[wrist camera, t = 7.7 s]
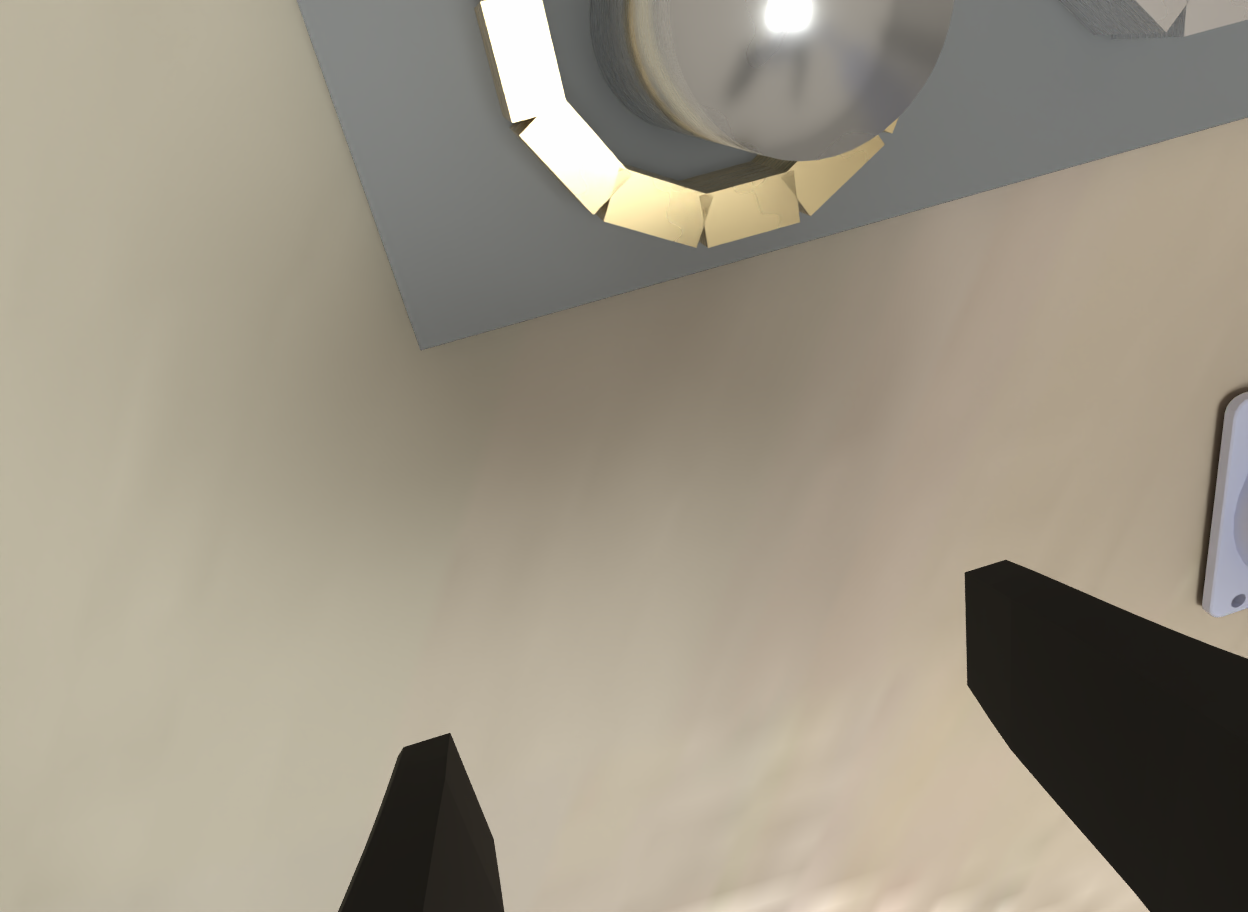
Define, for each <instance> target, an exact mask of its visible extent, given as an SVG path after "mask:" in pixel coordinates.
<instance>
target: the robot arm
mask: <svg viewBox="0 0 1248 912" xmlns="http://www.w3.org/2000/svg"><path fill="white" fill-rule="evenodd" d="M965 603H966V645H967V685H968V687H969V688H970V690H971V691H972V693H973V694H974V696H975V697H976V699H977V700H978V702H979V703H980V705H981V707H982V708H983V710H984V711H985V713H986V714H987V716H988V717H989V719H990V720H991V722H992V723H993V725H994V726H995V728H996V729H997V730H998V732H999V733H1000V735H1001V736H1002V738H1003V739H1004V740H1005V742H1006V743H1007V745H1008V746H1009V748H1010V749H1011V750H1012V751H1013V753H1014V754H1015V755H1016V756H1017V757H1018V759H1019V760H1020V761H1021V762H1022V763H1023V765H1024V766H1025V767H1026V768H1027V769H1028V770H1029V772H1030V773H1031V774H1032V775H1033V776H1034V777H1035V779H1036V780H1037V781H1038V782H1039V783H1040V784H1041V786H1042V787H1043V788H1044V789H1045V790H1046V791H1047V792H1048V794H1049V795H1050V796H1051V797H1052V798H1053V799H1054V801H1055V802H1056V803H1057V804H1058V805H1059V806H1060V807H1061V809H1062V810H1063V811H1064V812H1065V813H1066V814H1067V815H1068V817H1069V818H1070V819H1071V820H1072V821H1073V822H1074V824H1075V825H1076V826H1077V827H1078V828H1079V829H1080V830H1081V832H1082V833H1083V834H1084V835H1085V836H1086V837H1087V838H1088V840H1089V841H1090V842H1091V843H1092V844H1093V845H1094V846H1095V848H1096V849H1097V850H1098V851H1099V852H1100V853H1101V854H1102V856H1103V857H1104V858H1105V859H1106V860H1107V861H1108V862H1109V864H1110V865H1111V866H1112V867H1113V868H1114V869H1115V870H1116V872H1117V873H1118V874H1119V875H1120V876H1121V877H1122V879H1123V880H1124V881H1125V882H1126V883H1127V884H1128V885H1129V887H1130V888H1131V889H1132V890H1133V891H1134V892H1135V894H1136V895H1137V896H1138V897H1139V899H1140V900H1141V901H1142V902H1143V904H1144V905H1145V906H1146V907H1147V908H1148V910H1149V911H1150V912H1248V659H1247V658H1244V657H1241V656H1239V655H1236V654H1233V653H1230V652H1228V651H1225V650H1222V649H1219V648H1217V647H1214V646H1211V645H1209V644H1206V643H1204V642H1201V641H1199V640H1196V639H1194V638H1191V637H1188V636H1186V635H1183V634H1181V633H1178V632H1176V631H1174V630H1171V629H1169V628H1166V627H1164V626H1161V625H1159V624H1156V623H1154V622H1152V621H1149V620H1147V619H1144V618H1142V617H1140V616H1137V615H1135V614H1132V613H1130V612H1128V611H1125V610H1123V609H1121V608H1118V607H1116V606H1114V605H1111V604H1109V603H1107V602H1104V601H1102V600H1100V599H1097V598H1095V597H1093V596H1091V595H1088V594H1086V593H1084V592H1081V591H1079V590H1077V589H1074V588H1072V587H1070V586H1068V585H1065V584H1063V583H1061V582H1058V581H1056V580H1054V579H1051V578H1049V577H1047V576H1044V575H1042V574H1040V573H1037V572H1035V571H1033V570H1030V569H1028V568H1025V567H1023V566H1020V565H1018V564H1015V563H1013V562H1010V561H1007V560H1004V561H1000V562H997V563H994V564H991V565H987V566H984V567H981V568H978V569H975V570H971V571H968V572H965ZM1202 607H1203V609H1204V610H1205V611H1206V612H1207V613H1209V614H1210V615H1211V616H1213V617H1222V616H1226V615H1228V614H1231V613H1234V612H1237V611H1240V610H1243V609H1246V608H1248V392H1245V393H1242V394H1240V395H1238V396H1236V397H1235V398H1234V399H1232V400H1231V401H1230V403H1229V404H1228V406H1227V407H1226V411H1225V416H1224V424H1223V433H1222V441H1221V449H1220V458H1219V466H1218V475H1217V483H1216V491H1215V500H1214V508H1213V517H1212V525H1211V533H1210V542H1209V550H1208V559H1207V567H1206V575H1205V584H1204V592H1203V601H1202ZM338 912H504V907H503V900H502V892H501V885H500V878H499V872H498V865H497V858H496V852H495V845H494V839H493V837H492V834H491V832H490V829H489V827H488V824H487V822H486V819H485V817H484V814H483V812H482V810H481V807H480V805H479V802H478V800H477V797H476V795H475V792H474V790H473V788H472V785H471V783H470V780H469V778H468V775H467V773H466V770H465V768H464V765H463V763H462V761H461V758H460V756H459V753H458V751H457V748H456V746H455V743H454V741H453V738H452V736H451V734H450V733H448V734H445V735H442V736H438V737H435V738H432V739H429V740H426V741H422V742H419V743H416V744H413V745H409V746H406V747H404V748H403V749H402V751H401V753H400V754H399V756H398V758H397V761H396V764H395V767H394V770H393V773H392V776H391V779H390V781H389V784H388V787H387V790H386V793H385V796H384V798H383V801H382V804H381V807H380V809H379V812H378V815H377V817H376V820H375V823H374V825H373V828H372V831H371V833H370V836H369V838H368V841H367V844H366V846H365V849H364V851H363V853H362V856H361V858H360V861H359V863H358V865H357V868H356V870H355V873H354V875H353V877H352V880H351V882H350V885H349V887H348V889H347V892H346V894H345V897H344V899H343V901H342V904H341V906H340V908H339V911H338Z"/></svg>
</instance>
